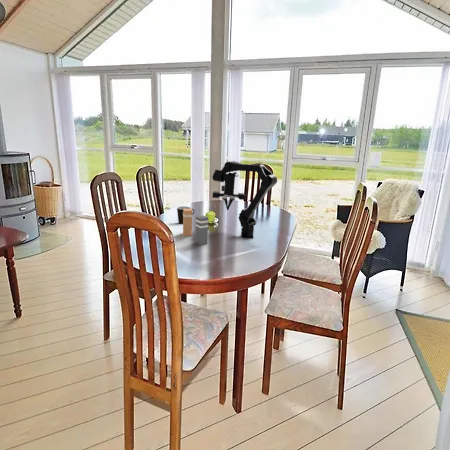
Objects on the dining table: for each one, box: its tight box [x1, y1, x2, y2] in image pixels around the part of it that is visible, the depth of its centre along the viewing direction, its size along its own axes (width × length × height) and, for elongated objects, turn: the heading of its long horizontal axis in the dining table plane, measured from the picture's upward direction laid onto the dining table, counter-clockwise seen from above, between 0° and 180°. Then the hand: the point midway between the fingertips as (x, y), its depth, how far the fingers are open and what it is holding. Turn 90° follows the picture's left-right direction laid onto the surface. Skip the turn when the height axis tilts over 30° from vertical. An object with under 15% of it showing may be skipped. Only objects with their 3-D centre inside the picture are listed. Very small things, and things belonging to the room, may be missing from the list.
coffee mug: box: [176, 205, 195, 225], centre depth 213 cm, size 12×9×10 cm
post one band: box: [182, 208, 194, 236], centre depth 186 cm, size 5×5×14 cm
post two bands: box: [194, 215, 210, 246], centre depth 173 cm, size 5×5×14 cm
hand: (227, 209), depth 199 cm, fingers closed
